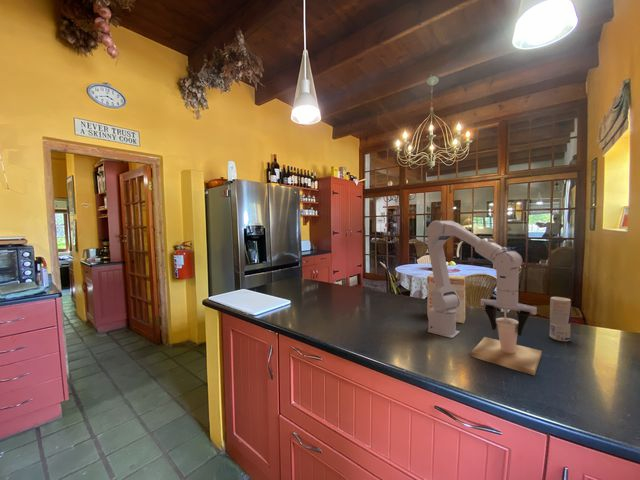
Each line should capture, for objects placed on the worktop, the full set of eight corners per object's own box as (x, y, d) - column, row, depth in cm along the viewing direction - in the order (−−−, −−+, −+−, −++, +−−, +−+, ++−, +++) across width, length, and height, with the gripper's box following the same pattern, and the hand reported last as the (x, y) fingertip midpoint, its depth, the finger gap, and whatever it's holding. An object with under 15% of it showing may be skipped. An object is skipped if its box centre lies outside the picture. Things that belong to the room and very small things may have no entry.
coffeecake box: (465, 318, 120) (465, 275, 119) (464, 323, 114) (464, 278, 113) (430, 313, 128) (430, 273, 127) (427, 318, 122) (427, 275, 121)
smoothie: (491, 347, 88) (489, 305, 88) (509, 344, 89) (507, 303, 89) (507, 356, 82) (505, 311, 81) (526, 353, 83) (524, 309, 82)
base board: (470, 356, 85) (470, 351, 85) (484, 340, 97) (484, 336, 97) (534, 375, 74) (534, 370, 74) (541, 355, 85) (541, 350, 85)
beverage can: (574, 342, 94) (575, 300, 93) (555, 341, 95) (556, 300, 94) (563, 336, 99) (564, 296, 99) (545, 335, 100) (546, 296, 100)
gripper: (538, 290, 82) (537, 334, 83) (484, 284, 92) (484, 322, 93) (535, 295, 77) (534, 341, 78) (478, 287, 87) (478, 328, 88)
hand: (506, 331), depth 85 cm, fingers closed on smoothie, 6 cm apart
